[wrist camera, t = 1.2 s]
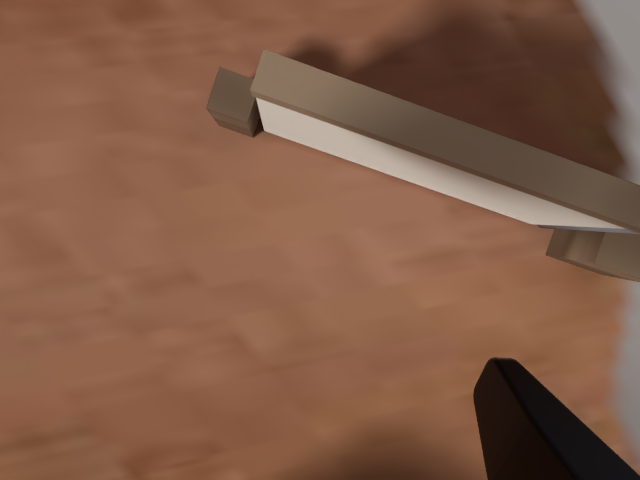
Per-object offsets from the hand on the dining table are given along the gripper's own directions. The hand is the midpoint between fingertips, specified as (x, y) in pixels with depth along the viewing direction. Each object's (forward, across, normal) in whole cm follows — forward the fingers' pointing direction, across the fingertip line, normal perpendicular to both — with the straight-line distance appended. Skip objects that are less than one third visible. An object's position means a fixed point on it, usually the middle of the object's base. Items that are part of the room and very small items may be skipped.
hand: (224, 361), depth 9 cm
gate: (+15, -8, +4) cm, 17 cm away
